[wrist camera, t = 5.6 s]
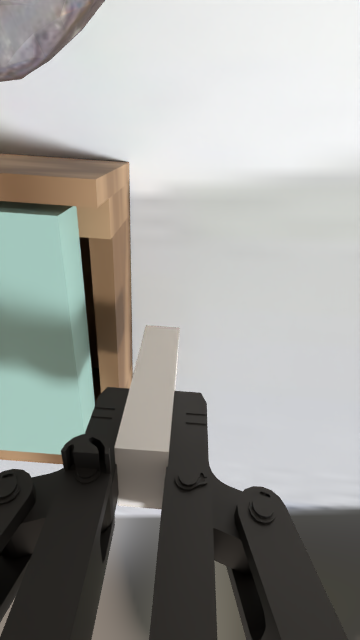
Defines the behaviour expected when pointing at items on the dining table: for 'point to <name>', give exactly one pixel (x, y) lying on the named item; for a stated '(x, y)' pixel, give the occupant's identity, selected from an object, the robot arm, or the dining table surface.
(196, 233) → the dining table surface
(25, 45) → the planter
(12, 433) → the lid
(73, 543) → the robot arm
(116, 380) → the box
